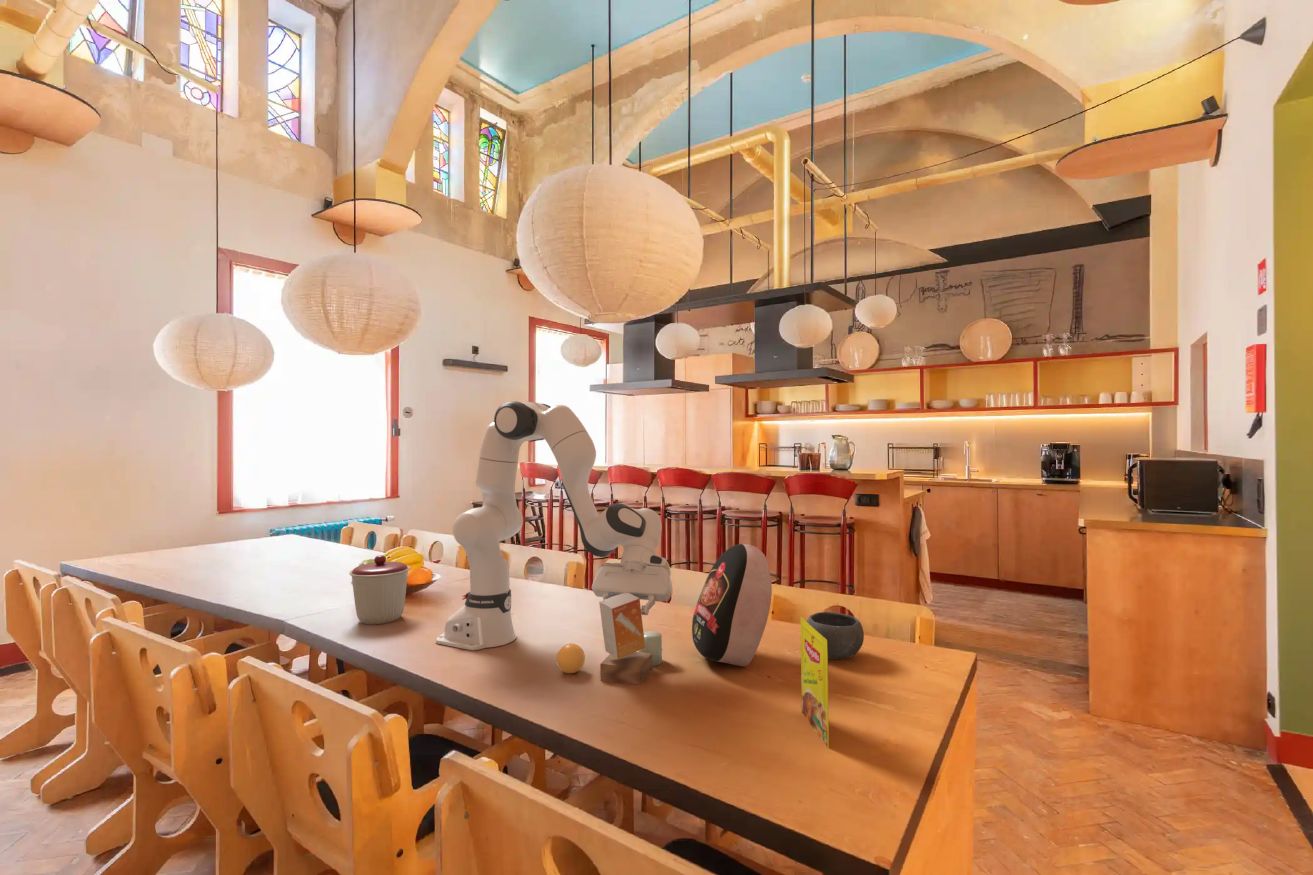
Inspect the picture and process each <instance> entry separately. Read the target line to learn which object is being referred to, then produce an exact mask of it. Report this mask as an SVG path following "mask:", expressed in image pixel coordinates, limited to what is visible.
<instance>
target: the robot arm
mask: <svg viewBox="0 0 1313 875" xmlns="http://www.w3.org/2000/svg"><path fill="white" fill-rule="evenodd" d="M543 440H545V441H546V443H547V445H548V446H549V449H550V450H551V453H552V455H553V456H554V458H555V461H556V463H557V467H558V469H559V471H560V472H559V473H560V477H561V484H562V488H563V490H564V492H565V496H566V499H567V500H568V503H569V505H570V508H571V510H572V512H573V515H574V518H575V519H576V522H577V524H578V528H579V532H580V539H581V542H582V545H583V547H584V548H585V549H586V551H587V552H589V553H590V554H591V555H593V556H594V557H598V558H599V557H600V558H604V557H605V558H606V557H608V556H610V555H611V554H612V553H613V552H614V551H615V550H616V549H617V548H618V547H619V546H622V547H623V552H622V555H621V558H620V562H618V563H617V562H615V563H613V562H611V563H610V562H604V564H601V565H599V566H598V568H597V571H596V575H595V576H594V579H593V582H592V585H591V590H592V592H593V594H594V595H595V597H598V598H599V597H600V598H602V601H603V600H606V599H608V598H610V597H613V596H616V595H619V594H622V593H630V594H632V595H634V596H636V597H638V598H639V599H640V601H641V600H643V601H644V600H645V601H648V602H646V603H645V605H641V615H642V616H648V615H649V612H650V610H651V609H652V608H653V606H655V604H656V601H659V602H667V601H669V600H670V599H671V596H672V595H671V594H672V588H673V587H672V579H671V575H672V572H671V567H670V564H669V562H668V560H667V558H665V557H662V556H659V555H657V549H659V547H660V546H659V545H660V542H661V539H662V538H661V537H662V530H663V526H662V525H663V524H662V519H661V516H660V515H659V513H657V512H656V511H655V510H653V509H650V508H647V507H642V508H634V507H630V506H629V505H627V504H625V503H621V502H618V503H616V502H615V503H613V504H610V505H609V506H608V507H607V508H606V509H604V510H603V511H602V512H601V513H600V514H599V513H598V511H597V509H596V506H595V503H594V500H593V498H592V496H591V494H590V491H589V480H590V476H591V474H592V473H591V472H592V469H593V467H594V465H595V462H596V458H597V450H596V447H595V443H594V442H593V439H592V438H591V436H590V434H589V432H588V430H587V429H586V428H585V426H584V424H583V423H582V421H581V420H580V419H579V417H578V416H577V415H576V413H575V412H574V411H573V410H572V409H571V408H570V407H569V406H567V405H564V404H557V405H554V406H551V405H548V404H546V403H539V402H536V401H530V400H529V401H516V400H513V401H508V402H504V403H503V404H501V405H500V406H499V407H498V408H497V409H496V411H495V414H494V417H493V422H490V423H489V424H488V425H487V427H485V430H484V434H483V436H482V440H481V444H480V448H479V455H478V460H477V470H476V477H475V485H476V486H477V488H478V489H479V490H480V492H481V497H482V506H481V507H479V506H478V507H473V508H471V509H468V510H466V511H464V512H462V513H461V514H459V515H458V516H457V517H456V518H455V519H454V521H453V524H452V535H453V538H454V540H455V541H456V542H457V543H458V544H459V545H460V546H461V547H462V548H463V550H464V553H465V555H466V558H467V562H468V565H469V581H470V582H469V585H470V586H469V587H470V588H469V589H470V591H468V592H467V593H465V594H464V595H461V597H462V598H461V600H462V601H464V600H465V603H464V605H462V606H461V607H460V608H459V609H458V610H457V611H455V612H454V613H453V614H452V615H450V616H449V617H448V618H447V620H446V622H445V626H444V632H443V633H442V634H439V636H437V637H436V639H435V640H436V641H435V644H438V645H443V646H449V647H454V648H458V649H463V650H464V649H465V650H467V651H468V650H469V651H477V650H481V649H485V648H494V647H495V648H496V647H499V646H500V647H501V646H504V645H507V644H509V643H511V642H513V641H515V639H516V638H517V636H516V633H515V629H514V625H513V620H512V619H513V618H512V613H511V612H512V611H511V608H512V590H511V588H510V585H511V583H510V582H511V581H510V562H509V561H508V560H507V559H506V558H504V556H503V553H502V551H501V550H502V549H501V547H500V542H502V541H505V540H509V539H510V538H512V537H513V536H515V535H516V534H518V533H519V532H520V531H521V529H522V527H523V525H524V516H523V514H522V511H521V510H520V509H519V506H518V505H517V498H516V479H517V471H518V464H519V456H520V449H521V446H522V445H523V444H524V443H525V442H531V443H532V442H537V441H538V442H539V441H543Z"/></svg>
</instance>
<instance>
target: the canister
mask: <svg viewBox="0 0 1313 875" xmlns="http://www.w3.org/2000/svg"><path fill="white" fill-rule="evenodd" d="M373 560H374V562H371V563H365V564H360V565H358V566H356V567H354V568H353V569H352V570H350V571H349V572H348V574H349V575H350V576H351V582H352V584H351V585H352V591H353V600H354V606H355V611H356V618H357V619H358V620H359V622H360V623H362V624H366V625H383V624H387V623H391V622H395V621H397V620H398V619H400V617H401V616H402V615H403V614H404V610H405V602H406V593H407V584H408V575H409V574H408V573H409V571H410V569H411V566H410V565H407V564H406V563H403V562H402V561H387V557H386V556H385V555H384V554H383V555H381V554H379V555H375V557H374V559H373Z"/></svg>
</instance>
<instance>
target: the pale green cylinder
mask: <svg viewBox="0 0 1313 875" xmlns="http://www.w3.org/2000/svg"><path fill="white" fill-rule="evenodd" d="M643 632H644V641H645V648H644V649H641V650H639V651H638V652H643V653H652V667H654V666H659V665H661V664H662V663H663V662H662V661H663V650H662V649H663V645H662V644H663V640H662V639H663V634H662V633H661V632H658V631H652V630H649V631H643Z"/></svg>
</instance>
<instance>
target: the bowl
mask: <svg viewBox="0 0 1313 875" xmlns="http://www.w3.org/2000/svg"><path fill="white" fill-rule="evenodd" d="M806 622H807V623H808V624H809V625H811V626H812V627H813V628H814V629H815V630H816V631H817V632H818V633H820V634H821V635H822V636H823V637H824V638H825V639H826V640H827V650H828V659H831V660H832V659H833V660H843V659H848V658H851V657H853V656H855V655H856V654H857V653H859V651H860V650H861V648H862V647H863V644H864V640H865V638H864V637H865V636H864V635H865V634H864V628H863V626H862V623H861V622H860V620H859V619H858V618H857V617H854V616H853V615H850V614H845V613H839V612H831V611H821V612H816V613H813V614H811V615H809V616H808V618H807V620H806Z"/></svg>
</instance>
